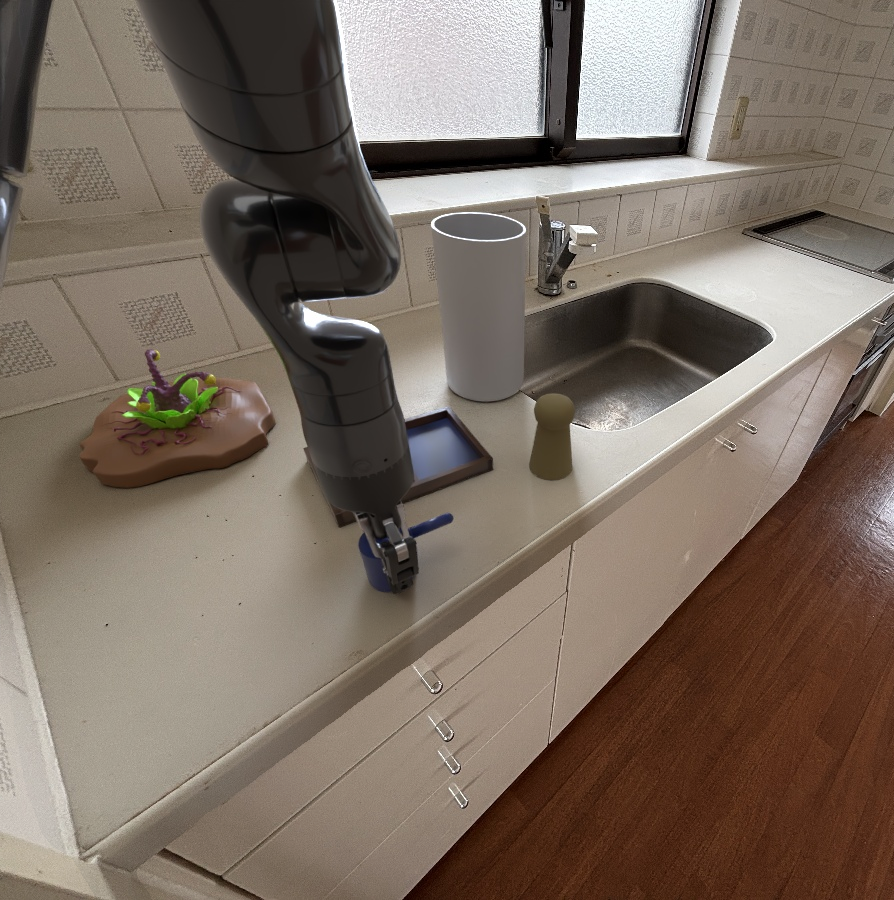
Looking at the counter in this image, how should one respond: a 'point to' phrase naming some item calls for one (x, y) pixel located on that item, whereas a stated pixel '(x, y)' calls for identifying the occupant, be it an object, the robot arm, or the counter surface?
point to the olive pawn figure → (552, 437)
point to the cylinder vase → (481, 302)
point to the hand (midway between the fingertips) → (391, 567)
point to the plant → (176, 428)
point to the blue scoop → (369, 560)
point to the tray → (433, 456)
